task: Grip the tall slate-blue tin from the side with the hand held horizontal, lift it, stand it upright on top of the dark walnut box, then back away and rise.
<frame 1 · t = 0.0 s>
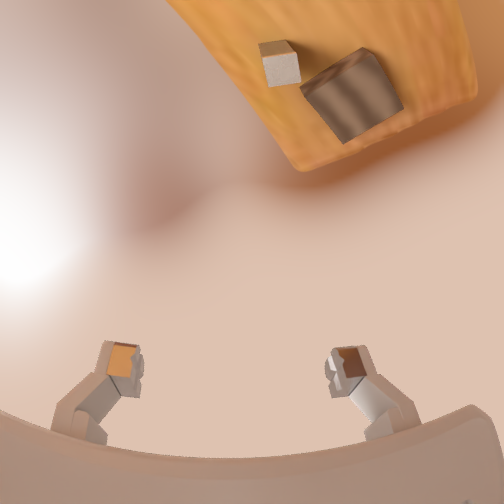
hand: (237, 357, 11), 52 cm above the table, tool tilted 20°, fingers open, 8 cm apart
slate tin: (274, 53, 43), on the table
walnut box: (348, 90, 50), on the table
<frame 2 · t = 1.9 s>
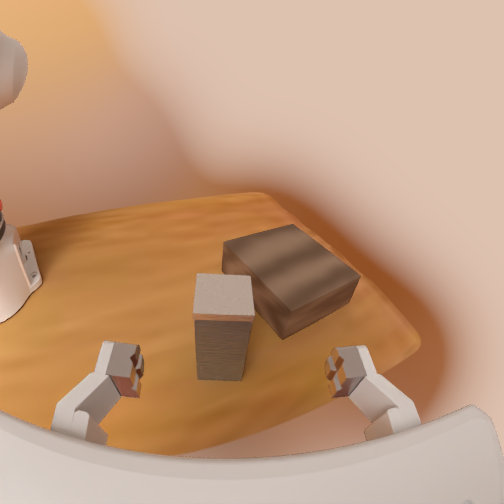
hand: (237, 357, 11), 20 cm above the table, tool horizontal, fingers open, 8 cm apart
slate tin: (219, 362, 32), on the table
walnut box: (284, 288, 45), on the table
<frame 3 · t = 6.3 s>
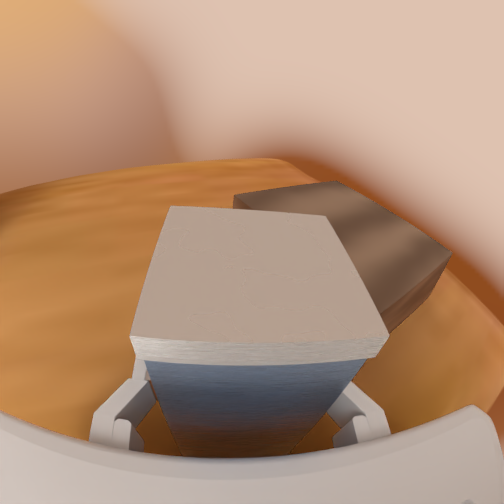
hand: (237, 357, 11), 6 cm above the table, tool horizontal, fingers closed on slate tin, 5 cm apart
slate tin: (230, 425, 14), on the table, touching gripper
walnut box: (334, 276, 27), on the table
when the fingers open (13 cm above the table, at t = 10.6 s): slate tin drops 2 cm, resting on walnut box.
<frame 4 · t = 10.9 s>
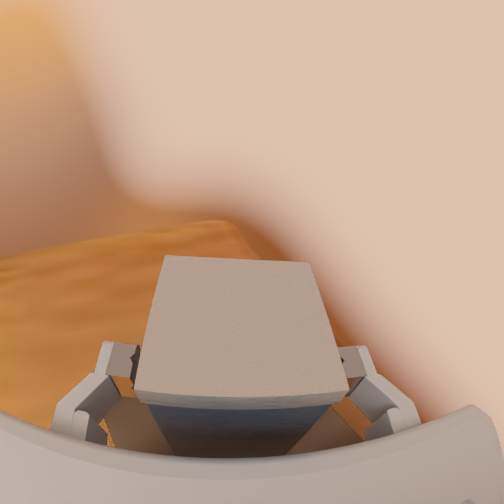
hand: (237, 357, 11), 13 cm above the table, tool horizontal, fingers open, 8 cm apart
slate tin: (225, 435, 15), point 6 cm above the table, touching walnut box
walnut box: (225, 454, 18), on the table, touching slate tin
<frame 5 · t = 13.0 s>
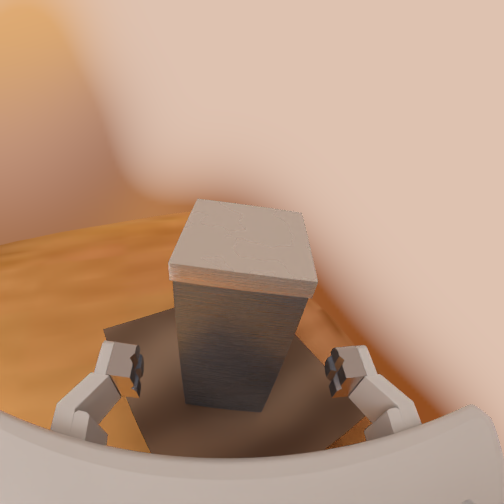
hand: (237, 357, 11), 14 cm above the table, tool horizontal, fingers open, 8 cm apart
slate tin: (226, 377, 19), point 6 cm above the table, touching walnut box
walnut box: (223, 410, 22), on the table, touching slate tin
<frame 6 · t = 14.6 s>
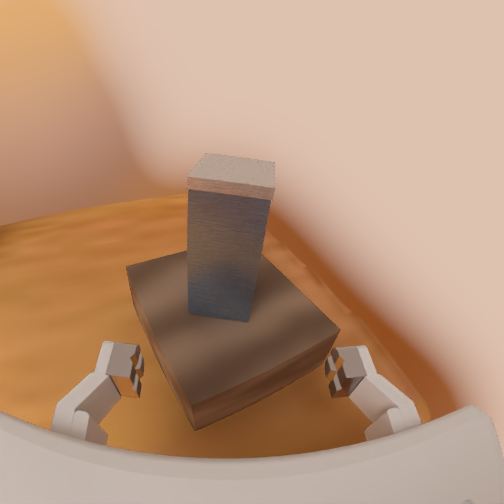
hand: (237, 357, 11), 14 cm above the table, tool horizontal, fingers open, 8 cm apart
slate tin: (222, 297, 25), point 6 cm above the table
walnut box: (221, 339, 29), on the table
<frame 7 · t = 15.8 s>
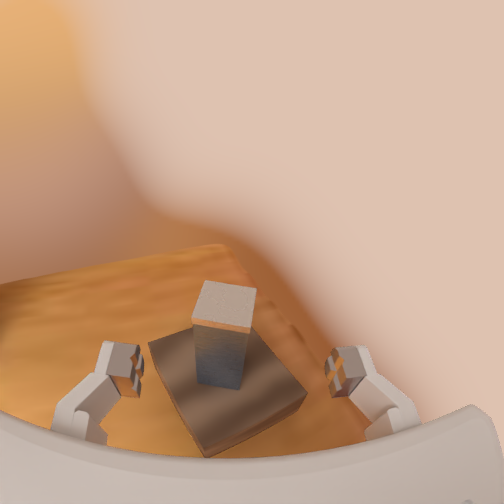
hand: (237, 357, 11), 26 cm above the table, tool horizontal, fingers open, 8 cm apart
slate tin: (221, 369, 33), point 6 cm above the table, touching walnut box
walnut box: (222, 391, 36), on the table, touching slate tin
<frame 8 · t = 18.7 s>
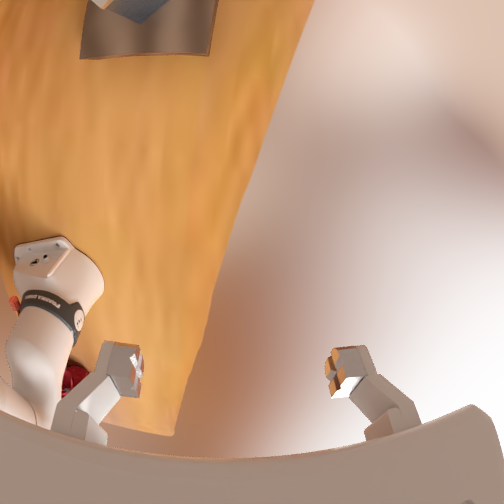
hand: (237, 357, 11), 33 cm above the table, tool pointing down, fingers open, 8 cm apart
bouquet: (79, 373, 71), on the table
walnut box: (157, 10, 25), on the table, touching slate tin
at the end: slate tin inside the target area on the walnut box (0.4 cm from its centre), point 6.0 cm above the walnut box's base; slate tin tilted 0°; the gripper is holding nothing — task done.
